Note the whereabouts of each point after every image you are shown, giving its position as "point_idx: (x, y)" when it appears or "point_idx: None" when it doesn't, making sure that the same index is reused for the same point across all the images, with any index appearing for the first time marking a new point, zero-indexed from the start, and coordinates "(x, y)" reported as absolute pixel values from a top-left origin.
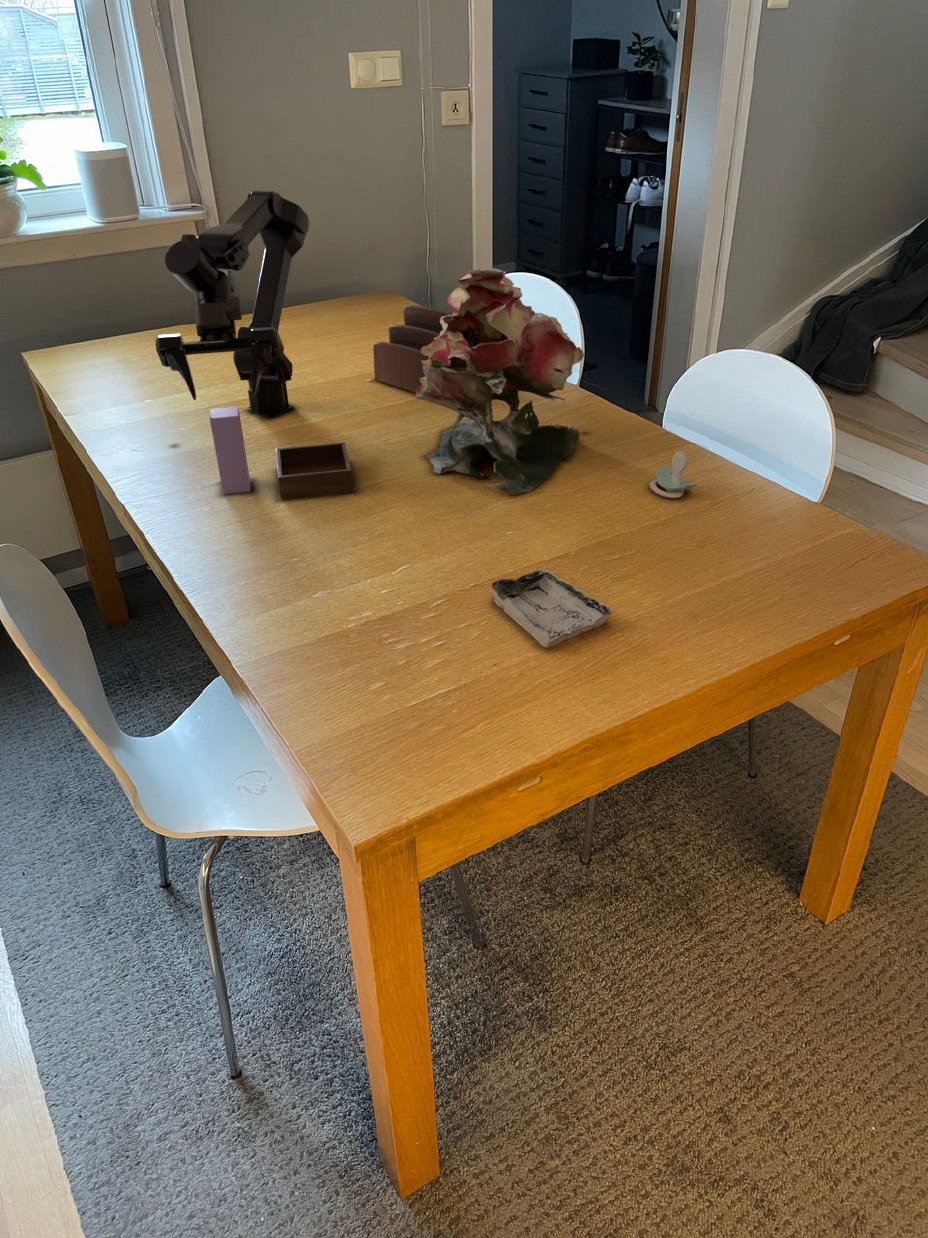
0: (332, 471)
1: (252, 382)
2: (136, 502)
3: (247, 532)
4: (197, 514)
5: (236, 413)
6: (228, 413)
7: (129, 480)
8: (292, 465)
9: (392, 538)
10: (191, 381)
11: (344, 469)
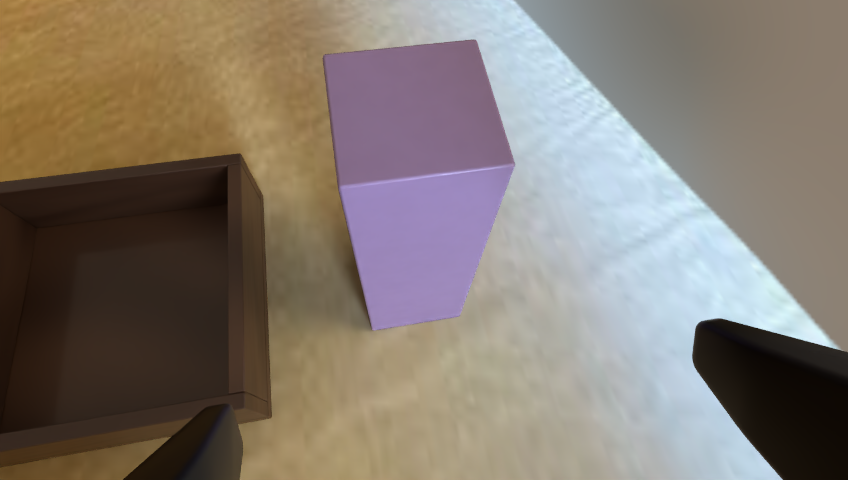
0: (44, 179)
1: (185, 450)
2: (683, 209)
3: None
4: None
5: (335, 85)
6: (383, 86)
7: None
8: None
9: (10, 12)
10: (834, 373)
11: (13, 374)
